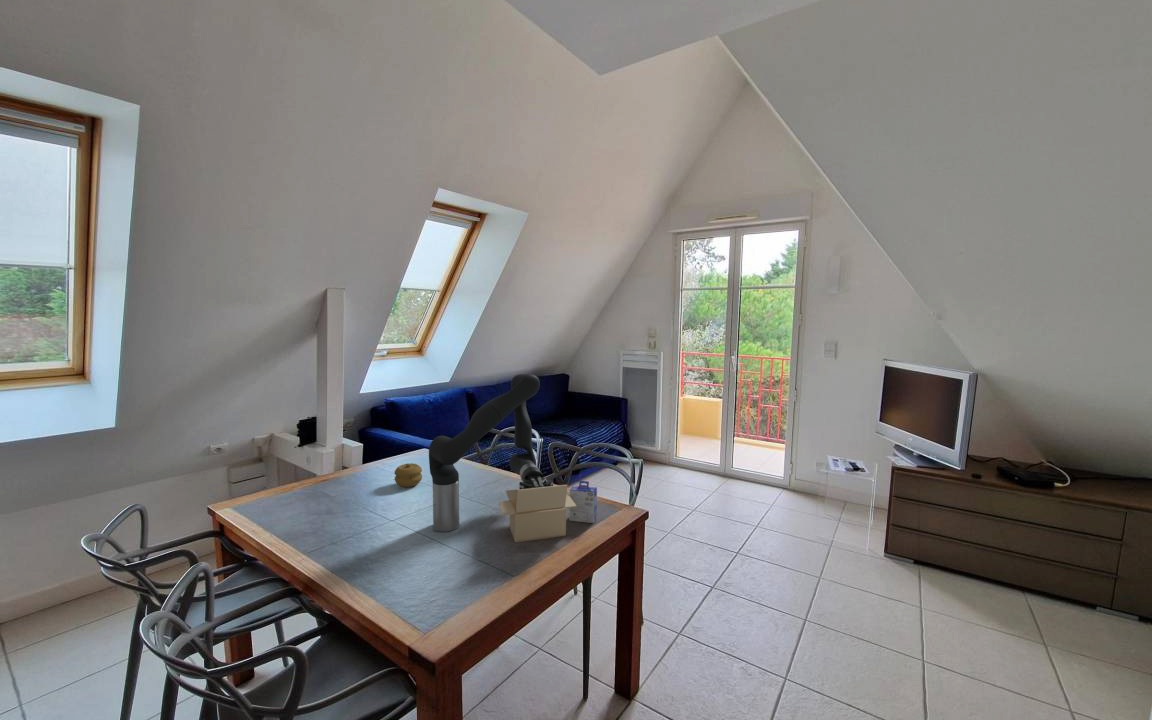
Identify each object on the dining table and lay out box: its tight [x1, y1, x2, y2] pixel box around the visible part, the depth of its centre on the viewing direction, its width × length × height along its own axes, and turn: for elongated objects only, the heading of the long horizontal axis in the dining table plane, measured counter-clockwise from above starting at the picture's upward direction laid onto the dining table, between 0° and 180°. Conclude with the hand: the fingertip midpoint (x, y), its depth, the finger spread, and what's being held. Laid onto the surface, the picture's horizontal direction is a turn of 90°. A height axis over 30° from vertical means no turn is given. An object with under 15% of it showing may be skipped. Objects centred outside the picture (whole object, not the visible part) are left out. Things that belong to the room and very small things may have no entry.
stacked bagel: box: [394, 462, 423, 488], centre depth 211 cm, size 12×12×10 cm
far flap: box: [516, 484, 568, 513], centre depth 161 cm, size 17×9×1 cm
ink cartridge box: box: [568, 480, 598, 524], centre depth 179 cm, size 10×6×14 cm, turn 78°
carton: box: [498, 489, 577, 544], centre depth 173 cm, size 26×21×10 cm
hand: (542, 493), depth 160 cm, fingers closed
